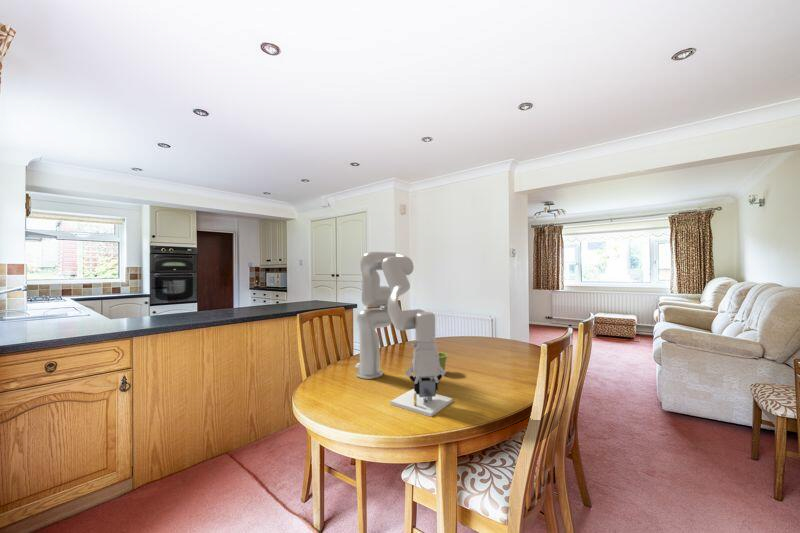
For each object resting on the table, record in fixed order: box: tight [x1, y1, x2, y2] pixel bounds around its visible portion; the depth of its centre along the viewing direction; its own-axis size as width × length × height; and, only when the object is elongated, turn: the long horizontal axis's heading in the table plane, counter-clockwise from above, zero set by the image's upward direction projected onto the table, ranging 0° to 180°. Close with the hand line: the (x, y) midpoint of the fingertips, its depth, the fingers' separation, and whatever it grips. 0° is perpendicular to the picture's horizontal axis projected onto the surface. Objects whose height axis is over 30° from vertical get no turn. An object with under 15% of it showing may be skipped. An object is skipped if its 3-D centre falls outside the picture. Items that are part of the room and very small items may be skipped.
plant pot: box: [438, 351, 449, 372], centre depth 163 cm, size 9×9×9 cm
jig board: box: [389, 388, 454, 418], centre depth 127 cm, size 18×16×1 cm
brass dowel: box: [414, 393, 417, 406], centre depth 122 cm, size 1×1×4 cm
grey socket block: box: [418, 377, 437, 401], centre depth 124 cm, size 10×6×6 cm, turn 7°
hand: (425, 392), depth 126 cm, fingers closed on grey socket block, 6 cm apart
